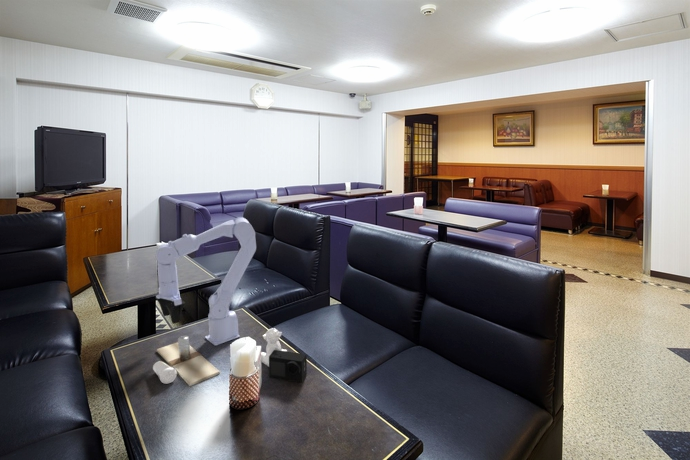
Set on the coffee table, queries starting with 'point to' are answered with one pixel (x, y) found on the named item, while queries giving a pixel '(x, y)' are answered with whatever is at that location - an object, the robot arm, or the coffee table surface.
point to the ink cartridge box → (258, 363)
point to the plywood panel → (188, 364)
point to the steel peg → (184, 348)
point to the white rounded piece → (165, 372)
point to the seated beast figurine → (271, 344)
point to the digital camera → (288, 366)
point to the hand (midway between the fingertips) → (171, 318)
